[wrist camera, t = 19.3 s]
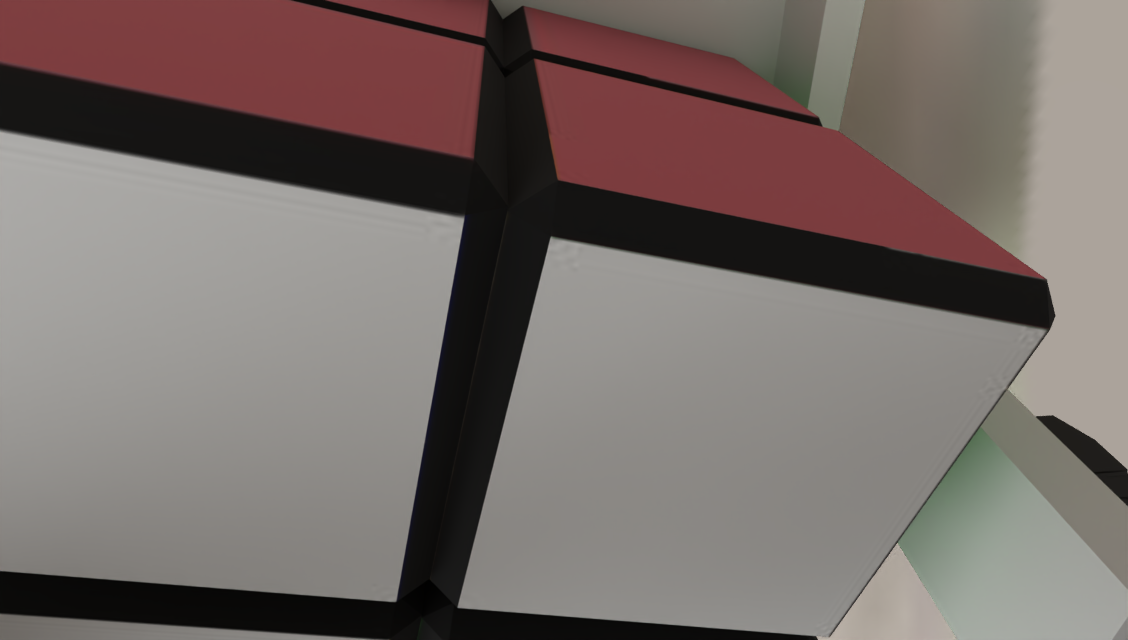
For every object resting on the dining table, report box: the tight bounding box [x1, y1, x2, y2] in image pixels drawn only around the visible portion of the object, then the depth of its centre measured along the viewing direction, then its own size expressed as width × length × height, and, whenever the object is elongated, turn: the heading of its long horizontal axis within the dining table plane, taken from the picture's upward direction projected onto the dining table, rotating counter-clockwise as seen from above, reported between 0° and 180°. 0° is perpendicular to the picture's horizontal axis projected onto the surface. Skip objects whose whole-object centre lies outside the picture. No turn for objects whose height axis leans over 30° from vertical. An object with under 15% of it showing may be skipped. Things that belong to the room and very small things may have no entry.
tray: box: [491, 0, 865, 131], centre depth 15 cm, size 15×15×2 cm
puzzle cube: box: [0, 0, 1055, 640], centre depth 11 cm, size 10×10×10 cm
